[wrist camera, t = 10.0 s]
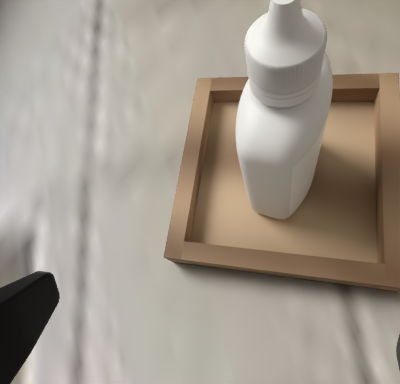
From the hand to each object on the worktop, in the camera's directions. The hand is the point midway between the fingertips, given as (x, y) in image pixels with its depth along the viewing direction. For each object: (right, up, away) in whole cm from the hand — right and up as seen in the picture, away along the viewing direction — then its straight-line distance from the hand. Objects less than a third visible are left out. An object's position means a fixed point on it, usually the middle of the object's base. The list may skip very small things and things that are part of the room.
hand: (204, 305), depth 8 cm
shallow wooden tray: (+5, +4, +11) cm, 13 cm away
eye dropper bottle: (+5, +4, +11) cm, 13 cm away
